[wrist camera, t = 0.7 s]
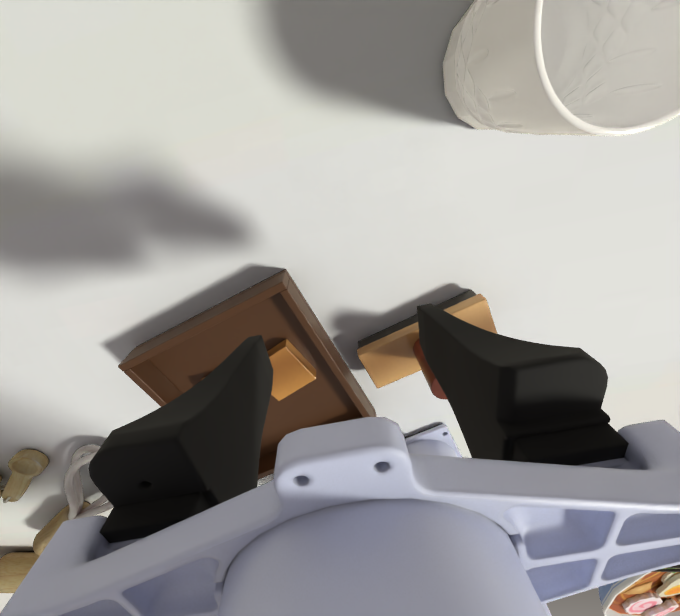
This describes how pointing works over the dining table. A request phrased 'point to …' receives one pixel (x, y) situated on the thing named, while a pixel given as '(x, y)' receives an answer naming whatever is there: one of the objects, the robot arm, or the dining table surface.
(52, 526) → the toy baking set
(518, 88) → the white cup
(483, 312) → the wooden stamp
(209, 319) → the tray
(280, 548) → the robot arm
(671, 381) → the dining table surface
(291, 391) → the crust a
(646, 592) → the ramen bowl
